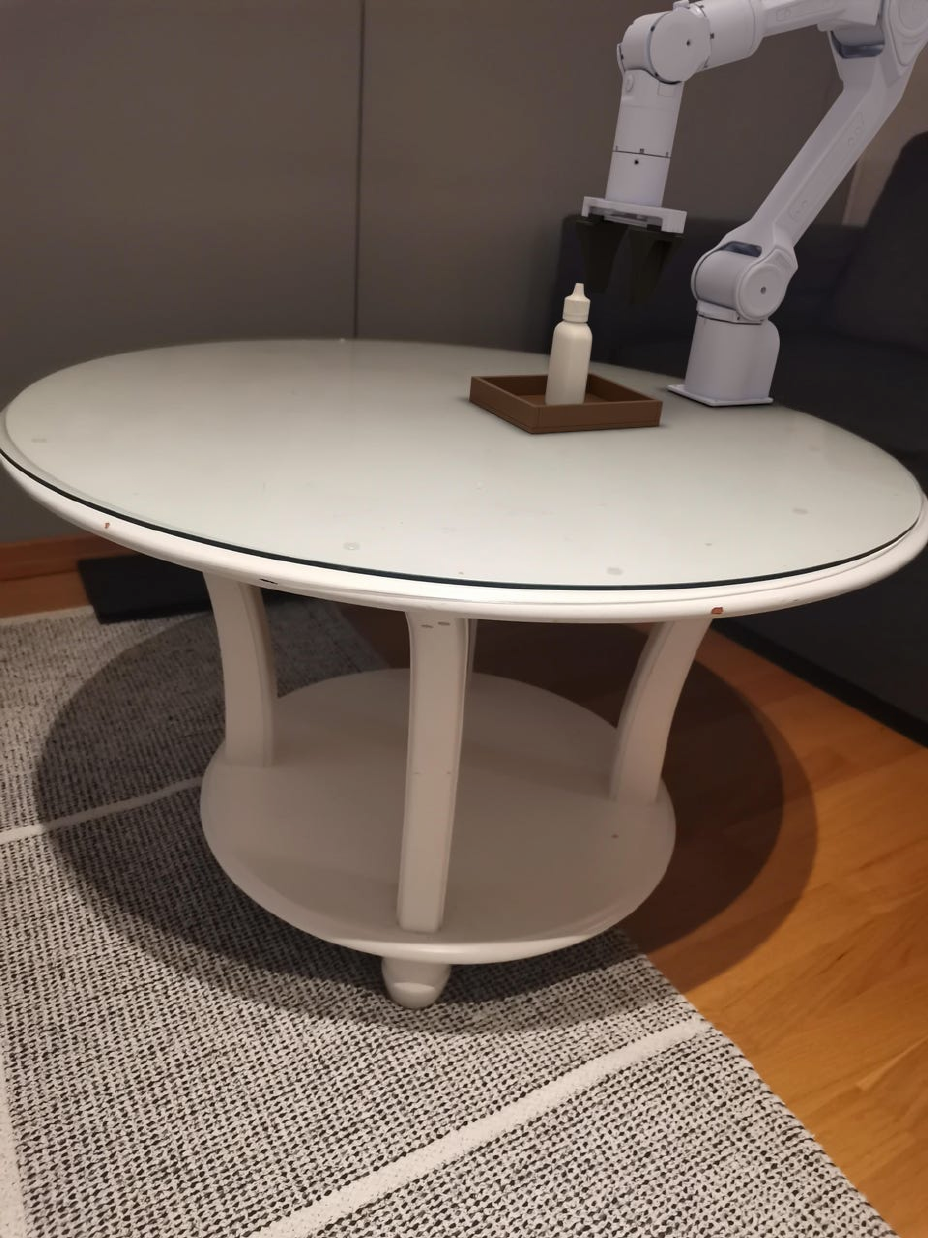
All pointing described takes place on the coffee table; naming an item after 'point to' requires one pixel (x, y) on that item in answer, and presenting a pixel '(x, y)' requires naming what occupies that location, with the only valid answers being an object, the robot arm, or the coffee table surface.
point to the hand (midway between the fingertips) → (616, 298)
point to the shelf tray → (600, 409)
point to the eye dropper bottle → (570, 352)
